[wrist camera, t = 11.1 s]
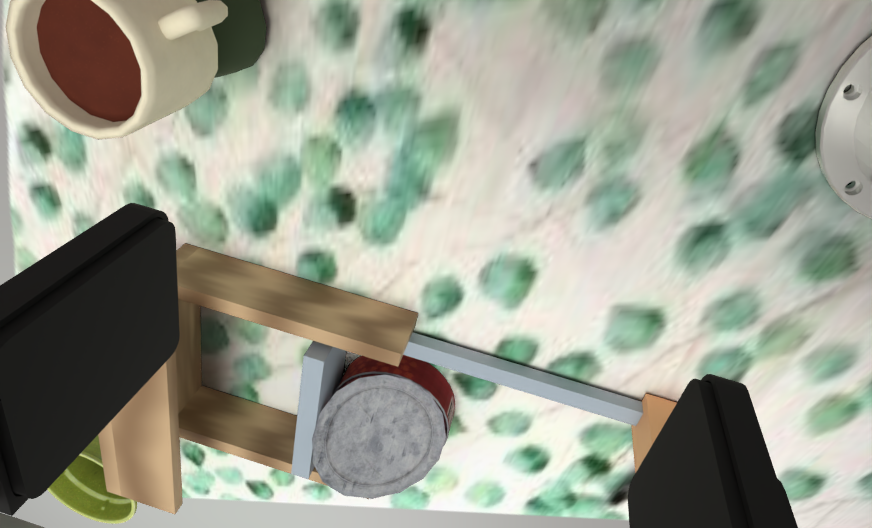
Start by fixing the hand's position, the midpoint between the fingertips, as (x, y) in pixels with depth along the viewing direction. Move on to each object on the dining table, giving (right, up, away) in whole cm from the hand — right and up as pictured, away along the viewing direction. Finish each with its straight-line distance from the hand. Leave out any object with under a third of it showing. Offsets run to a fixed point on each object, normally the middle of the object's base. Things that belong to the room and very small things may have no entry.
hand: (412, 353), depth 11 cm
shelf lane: (-11, -6, +40) cm, 42 cm away
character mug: (-13, +17, +27) cm, 34 cm away
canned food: (-3, -9, +40) cm, 41 cm away
